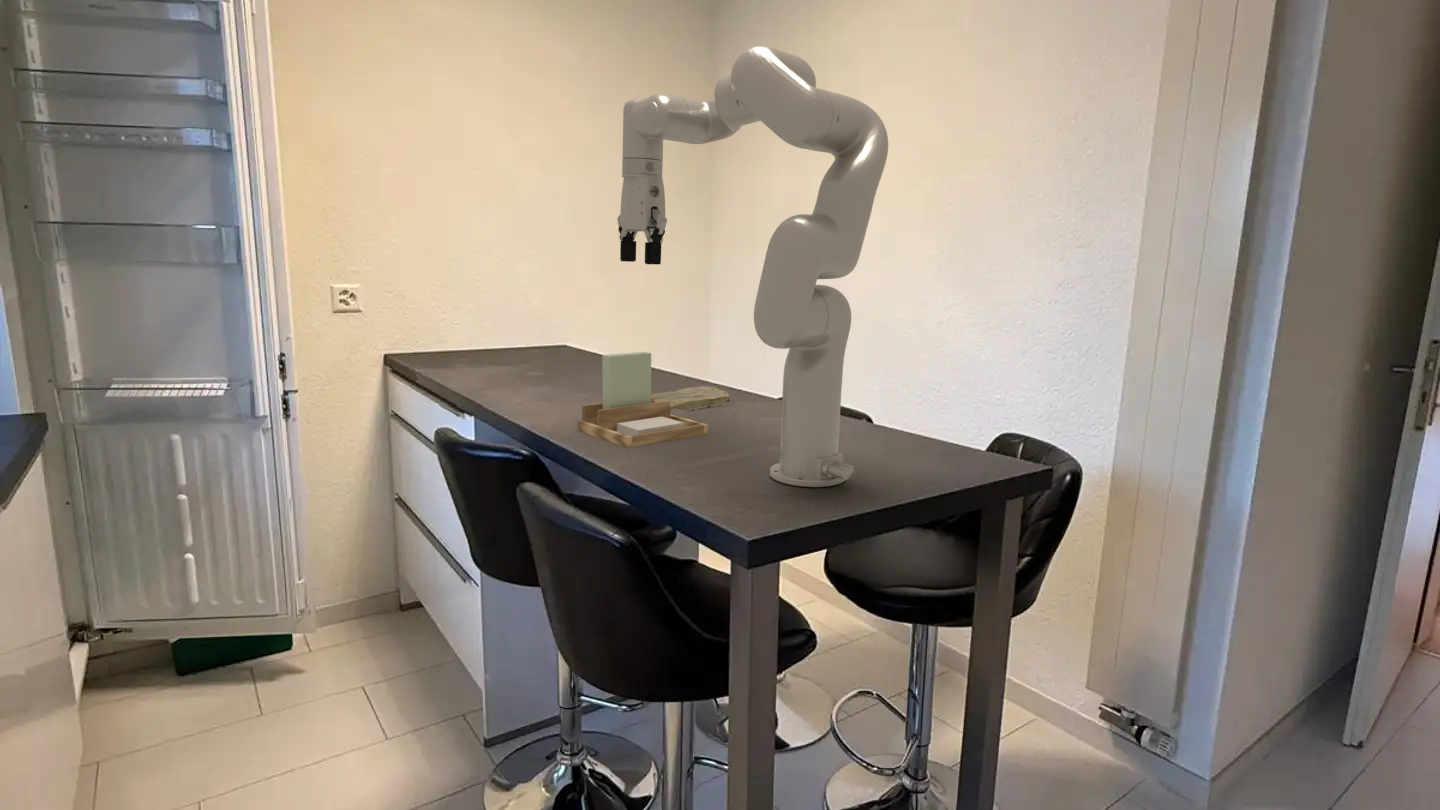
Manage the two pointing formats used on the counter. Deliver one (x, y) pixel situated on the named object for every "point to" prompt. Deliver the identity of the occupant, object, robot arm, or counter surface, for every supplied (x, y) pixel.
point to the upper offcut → (648, 425)
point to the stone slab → (693, 397)
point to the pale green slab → (626, 379)
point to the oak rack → (606, 420)
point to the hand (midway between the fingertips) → (640, 262)
